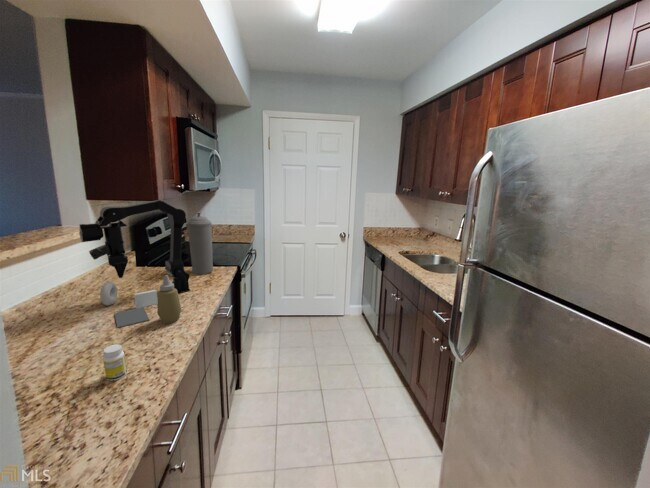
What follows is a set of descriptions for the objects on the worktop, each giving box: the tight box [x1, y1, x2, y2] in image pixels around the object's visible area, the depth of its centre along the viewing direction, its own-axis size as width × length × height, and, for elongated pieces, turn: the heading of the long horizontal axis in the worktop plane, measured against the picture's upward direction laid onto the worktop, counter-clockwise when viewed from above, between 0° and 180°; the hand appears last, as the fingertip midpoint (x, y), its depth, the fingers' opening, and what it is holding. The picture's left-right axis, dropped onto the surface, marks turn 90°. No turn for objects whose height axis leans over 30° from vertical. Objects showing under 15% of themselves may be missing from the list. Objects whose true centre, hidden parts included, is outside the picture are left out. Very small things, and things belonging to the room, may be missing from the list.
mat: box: [113, 307, 150, 329], centre depth 114 cm, size 10×14×1 cm
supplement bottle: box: [102, 343, 128, 382], centre depth 79 cm, size 5×5×8 cm
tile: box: [133, 289, 158, 309], centre depth 124 cm, size 8×2×6 cm, turn 129°
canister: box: [186, 211, 214, 276], centre depth 166 cm, size 13×13×35 cm
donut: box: [99, 281, 118, 306], centre depth 124 cm, size 10×4×10 cm, turn 14°
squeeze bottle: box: [156, 274, 182, 324], centre depth 110 cm, size 8×8×18 cm
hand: (120, 274), depth 122 cm, fingers open, 9 cm apart
